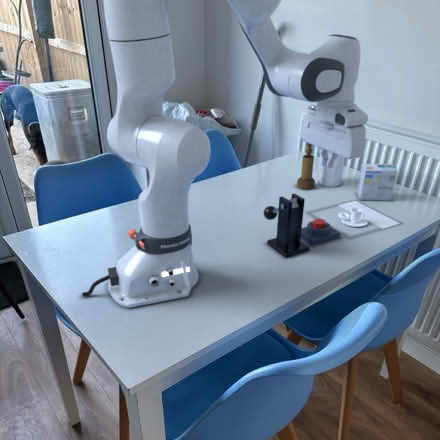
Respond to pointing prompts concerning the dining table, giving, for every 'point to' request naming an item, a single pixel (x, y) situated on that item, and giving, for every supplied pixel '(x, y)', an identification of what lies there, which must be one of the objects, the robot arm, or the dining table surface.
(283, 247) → the switch bracket
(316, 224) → the button
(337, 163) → the bottle
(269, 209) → the lever
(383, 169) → the light bulb box
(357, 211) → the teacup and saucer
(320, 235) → the button housing
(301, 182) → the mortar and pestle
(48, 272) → the dining table surface
